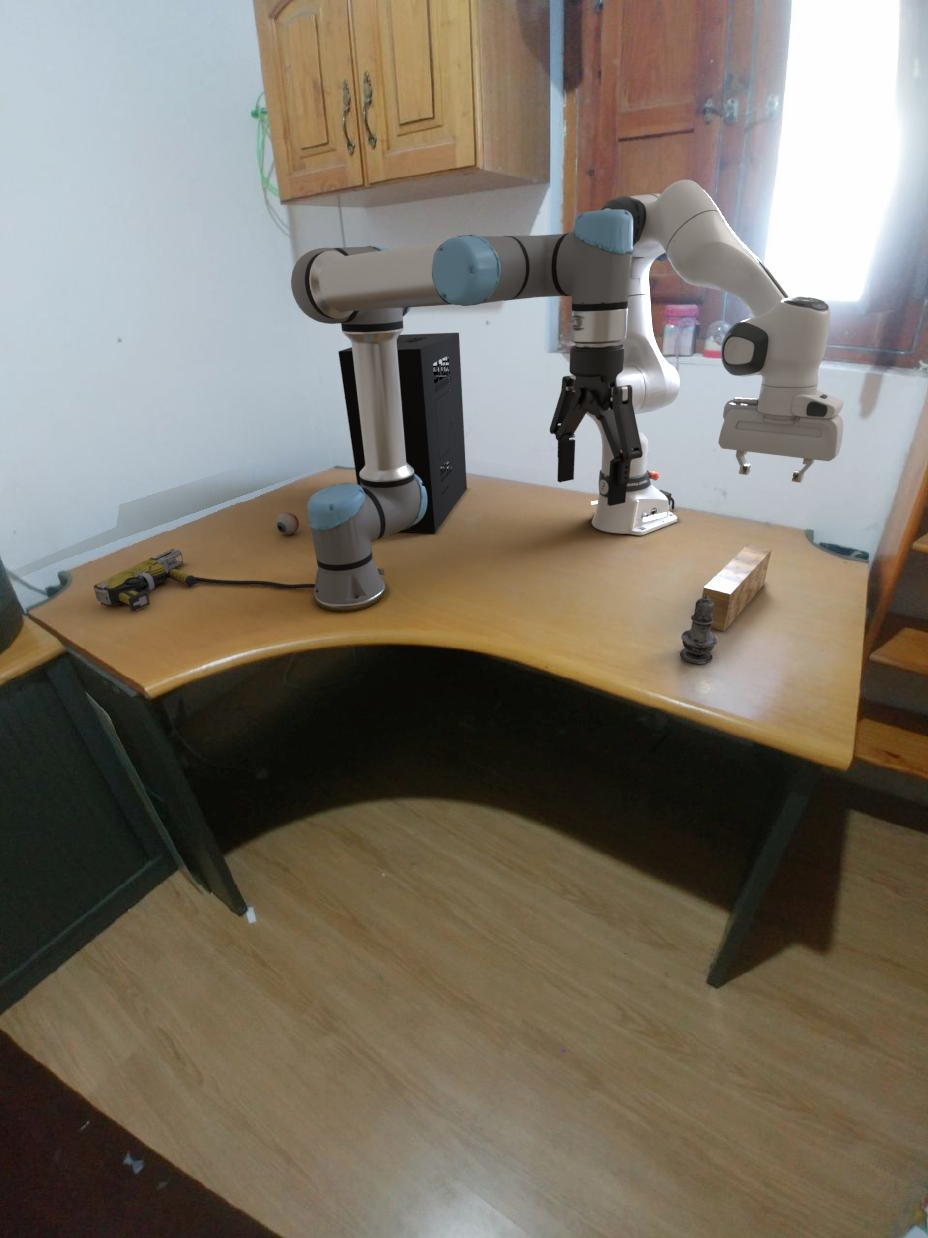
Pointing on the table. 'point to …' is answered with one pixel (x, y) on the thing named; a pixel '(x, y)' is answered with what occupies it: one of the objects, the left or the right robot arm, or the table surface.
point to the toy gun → (141, 581)
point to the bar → (737, 584)
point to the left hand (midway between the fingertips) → (589, 491)
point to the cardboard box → (422, 419)
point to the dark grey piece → (699, 634)
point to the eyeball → (287, 523)
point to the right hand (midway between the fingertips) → (769, 477)
